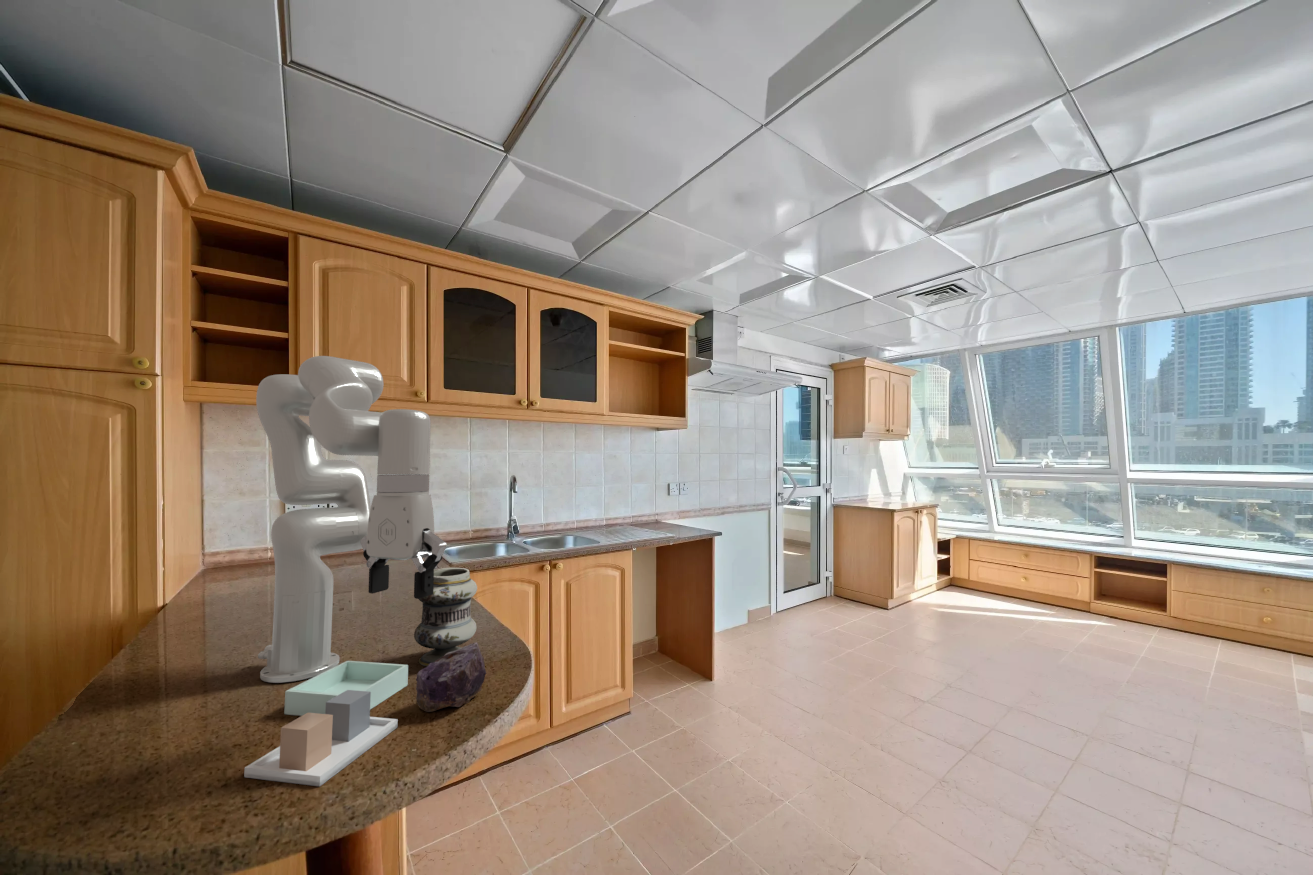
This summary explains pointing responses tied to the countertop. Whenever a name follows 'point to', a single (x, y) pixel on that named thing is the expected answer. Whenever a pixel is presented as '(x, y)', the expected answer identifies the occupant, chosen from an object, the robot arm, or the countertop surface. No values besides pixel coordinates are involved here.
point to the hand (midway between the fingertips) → (400, 593)
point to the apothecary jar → (446, 614)
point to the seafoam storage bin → (346, 685)
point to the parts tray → (327, 767)
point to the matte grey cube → (349, 714)
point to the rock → (451, 679)
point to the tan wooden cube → (306, 741)
